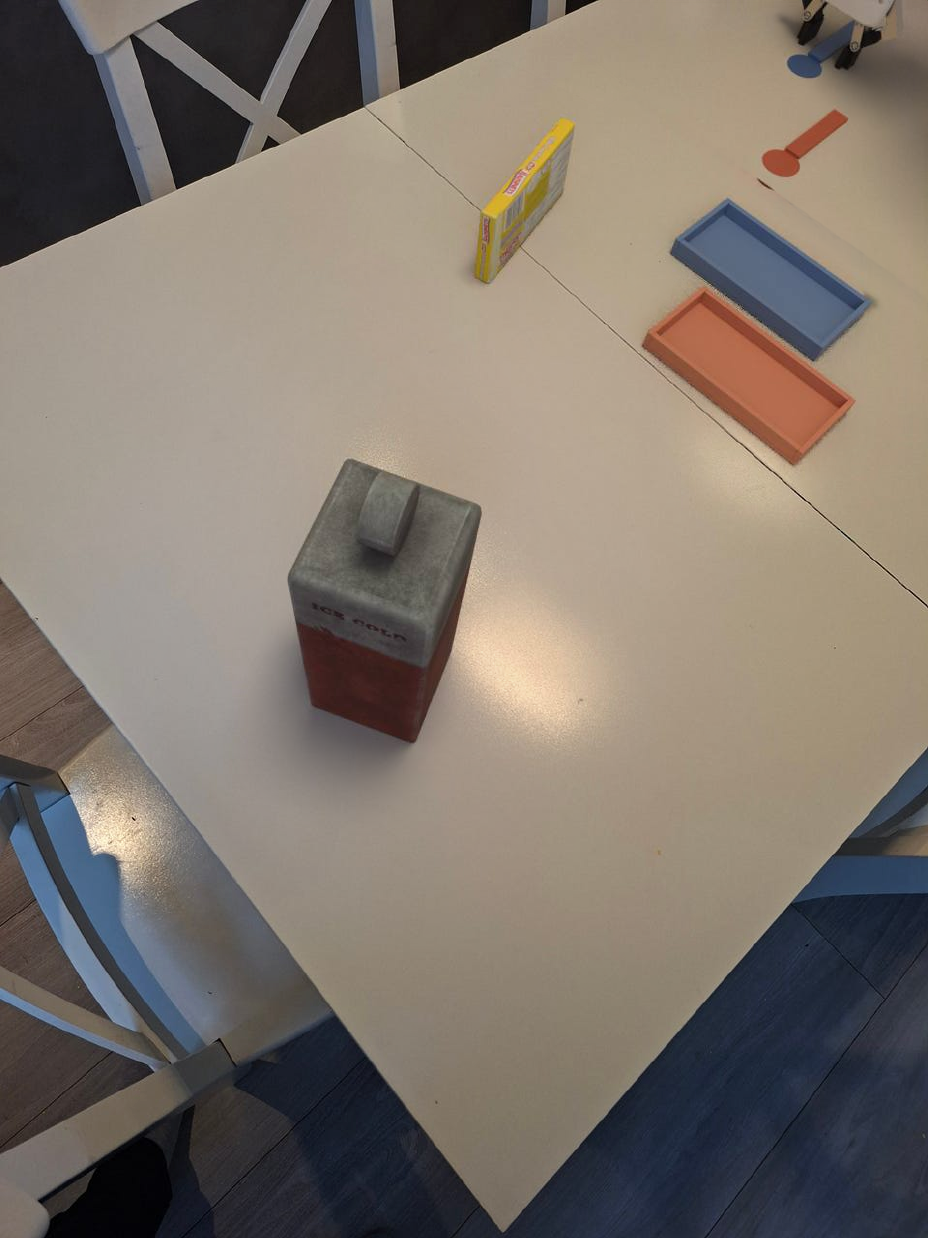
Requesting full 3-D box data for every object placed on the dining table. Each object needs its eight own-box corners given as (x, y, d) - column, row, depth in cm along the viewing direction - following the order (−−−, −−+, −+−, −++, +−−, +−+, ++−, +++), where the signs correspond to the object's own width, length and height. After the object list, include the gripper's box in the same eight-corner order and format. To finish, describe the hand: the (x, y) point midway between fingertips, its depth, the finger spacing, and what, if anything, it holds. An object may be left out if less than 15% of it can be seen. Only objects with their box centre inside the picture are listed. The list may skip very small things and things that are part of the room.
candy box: (546, 184, 97) (561, 114, 90) (563, 193, 97) (579, 123, 89) (471, 275, 91) (480, 209, 83) (489, 285, 91) (499, 219, 83)
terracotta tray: (846, 412, 88) (856, 400, 86) (793, 465, 85) (803, 453, 83) (697, 299, 92) (703, 284, 91) (641, 345, 89) (647, 331, 87)
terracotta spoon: (817, 120, 106) (826, 102, 104) (847, 140, 105) (857, 123, 103) (748, 174, 101) (755, 157, 99) (778, 196, 100) (787, 179, 98)
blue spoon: (837, 31, 113) (845, 13, 111) (865, 49, 112) (874, 32, 110) (773, 78, 108) (780, 60, 106) (802, 97, 107) (810, 80, 105)
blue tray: (862, 315, 94) (872, 301, 92) (813, 361, 91) (822, 348, 89) (721, 212, 98) (727, 197, 96) (669, 252, 95) (675, 237, 93)
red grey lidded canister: (327, 601, 75) (305, 388, 49) (452, 647, 74) (495, 455, 49) (283, 695, 71) (233, 517, 46) (414, 744, 71) (438, 592, 45)
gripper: (984, -79, 93) (891, 87, 109) (852, -156, 97) (782, 16, 113) (948, -52, 90) (858, 113, 107) (813, -133, 94) (747, 39, 110)
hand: (820, 61), depth 110 cm, fingers open, 4 cm apart
